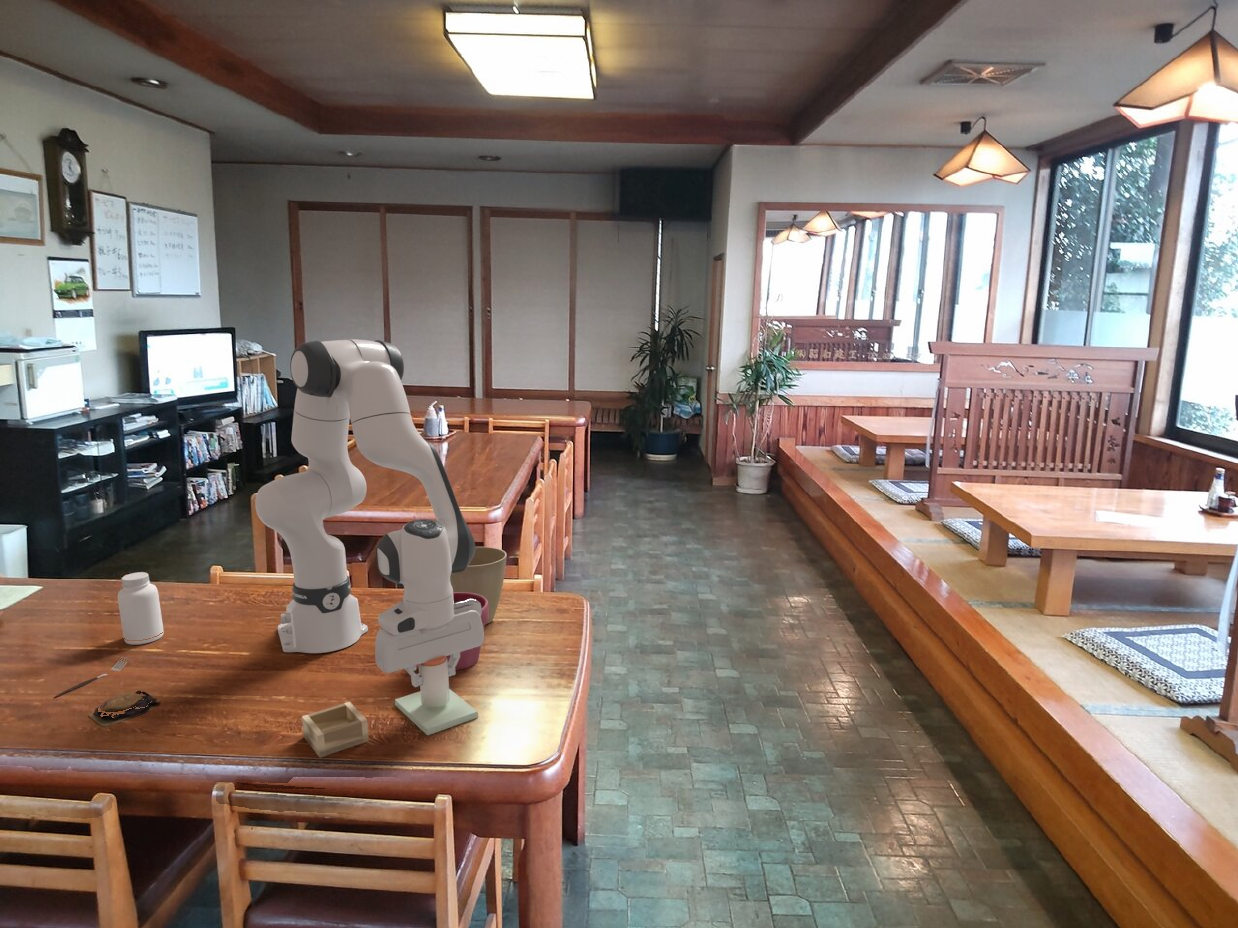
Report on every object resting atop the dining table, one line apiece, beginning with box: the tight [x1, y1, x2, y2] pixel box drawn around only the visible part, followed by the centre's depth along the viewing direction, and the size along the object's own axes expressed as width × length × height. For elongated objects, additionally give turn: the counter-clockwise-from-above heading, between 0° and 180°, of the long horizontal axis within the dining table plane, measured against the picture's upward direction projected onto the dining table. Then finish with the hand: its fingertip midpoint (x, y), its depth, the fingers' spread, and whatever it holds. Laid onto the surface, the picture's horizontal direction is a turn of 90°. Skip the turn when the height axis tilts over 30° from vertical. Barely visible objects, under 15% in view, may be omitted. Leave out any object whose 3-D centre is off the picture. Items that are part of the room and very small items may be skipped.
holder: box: [301, 701, 370, 759], centre depth 146 cm, size 8×8×4 cm
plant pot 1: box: [450, 546, 508, 625], centre depth 197 cm, size 15×15×16 cm
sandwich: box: [88, 690, 161, 728], centre depth 158 cm, size 11×8×4 cm
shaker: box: [418, 656, 450, 707], centre depth 154 cm, size 5×5×9 cm
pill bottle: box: [116, 571, 164, 646], centre depth 189 cm, size 8×8×15 cm
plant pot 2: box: [446, 592, 489, 671], centre depth 175 cm, size 14×14×13 cm
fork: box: [53, 656, 130, 699], centre depth 170 cm, size 3×16×2 cm, turn 159°
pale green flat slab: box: [394, 688, 479, 736], centre depth 156 cm, size 14×10×1 cm
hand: (433, 679), depth 155 cm, fingers closed on shaker, 5 cm apart
